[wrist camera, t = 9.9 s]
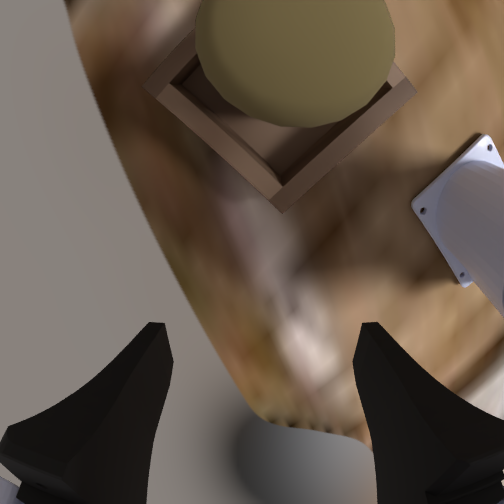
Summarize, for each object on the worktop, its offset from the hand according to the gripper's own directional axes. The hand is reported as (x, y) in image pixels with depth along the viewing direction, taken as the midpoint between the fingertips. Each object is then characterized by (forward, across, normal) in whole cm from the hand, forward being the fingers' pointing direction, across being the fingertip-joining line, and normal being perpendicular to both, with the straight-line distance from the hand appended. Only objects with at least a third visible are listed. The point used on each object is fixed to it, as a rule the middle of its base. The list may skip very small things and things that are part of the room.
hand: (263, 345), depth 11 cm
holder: (+10, -1, -9) cm, 14 cm away
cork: (+10, -1, -10) cm, 14 cm away
